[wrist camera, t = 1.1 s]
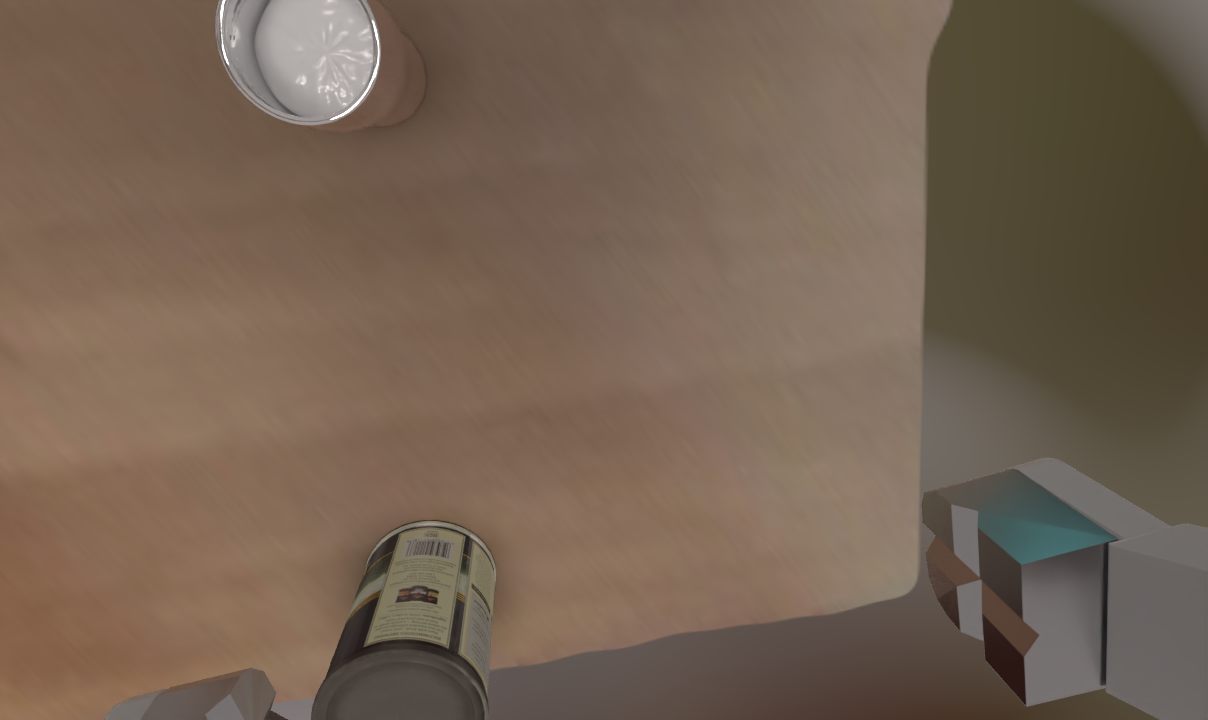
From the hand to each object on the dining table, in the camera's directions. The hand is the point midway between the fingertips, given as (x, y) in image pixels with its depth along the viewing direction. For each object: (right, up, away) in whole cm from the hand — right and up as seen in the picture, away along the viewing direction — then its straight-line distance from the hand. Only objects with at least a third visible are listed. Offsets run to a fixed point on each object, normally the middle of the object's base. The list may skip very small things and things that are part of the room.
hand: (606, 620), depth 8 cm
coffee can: (-14, -14, +45) cm, 49 cm away
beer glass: (-14, +21, +34) cm, 42 cm away
